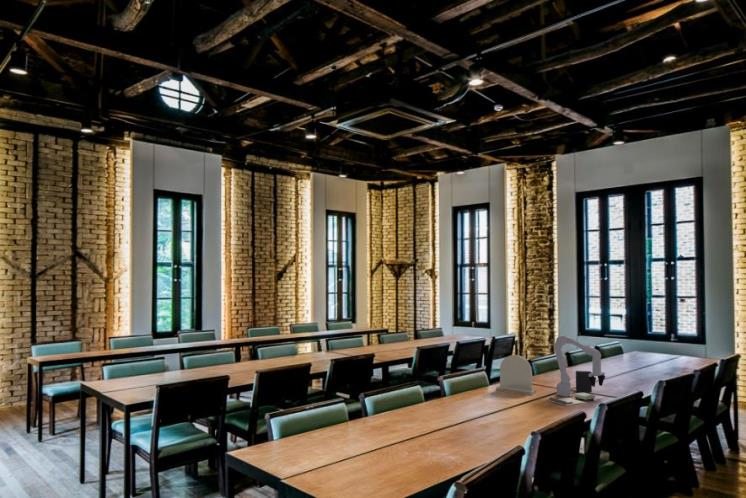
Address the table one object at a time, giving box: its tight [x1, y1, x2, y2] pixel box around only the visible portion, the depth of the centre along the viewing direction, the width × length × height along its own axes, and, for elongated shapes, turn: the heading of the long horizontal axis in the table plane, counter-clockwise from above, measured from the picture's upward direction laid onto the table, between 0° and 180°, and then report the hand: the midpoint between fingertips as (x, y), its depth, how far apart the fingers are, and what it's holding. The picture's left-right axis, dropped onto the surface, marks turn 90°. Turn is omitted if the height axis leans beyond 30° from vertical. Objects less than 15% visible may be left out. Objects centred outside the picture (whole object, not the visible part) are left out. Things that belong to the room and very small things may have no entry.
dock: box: [547, 396, 588, 407], centre depth 360 cm, size 16×20×3 cm
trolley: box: [573, 391, 596, 402], centre depth 368 cm, size 10×10×4 cm
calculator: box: [575, 370, 593, 393], centre depth 396 cm, size 11×4×15 cm, turn 84°
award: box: [495, 354, 537, 396], centre depth 392 cm, size 28×9×28 cm, turn 54°
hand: (596, 386), depth 374 cm, fingers open, 7 cm apart
